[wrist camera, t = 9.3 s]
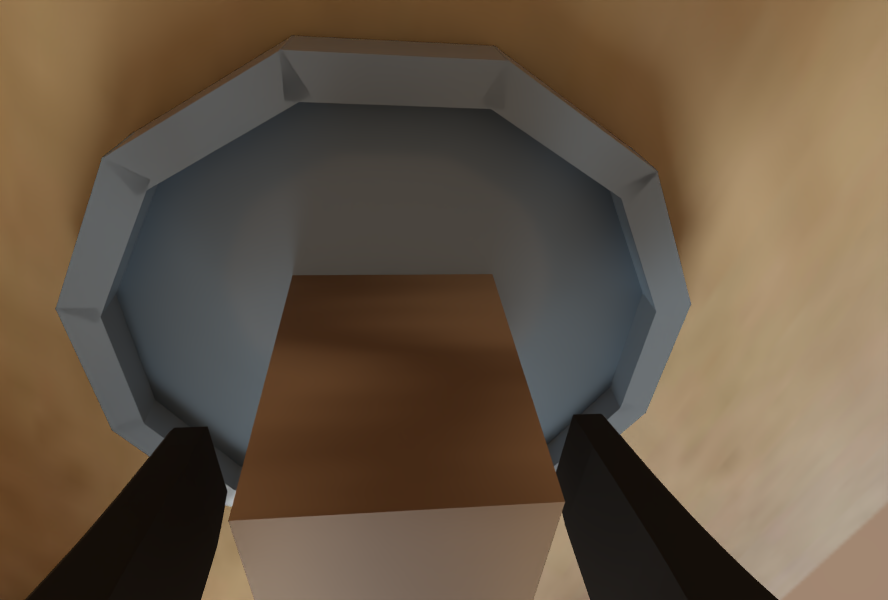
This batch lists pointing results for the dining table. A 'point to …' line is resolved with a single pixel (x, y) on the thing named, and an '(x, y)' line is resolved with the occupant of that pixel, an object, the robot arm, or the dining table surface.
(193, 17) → the dining table surface
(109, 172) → the plate
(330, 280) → the block
